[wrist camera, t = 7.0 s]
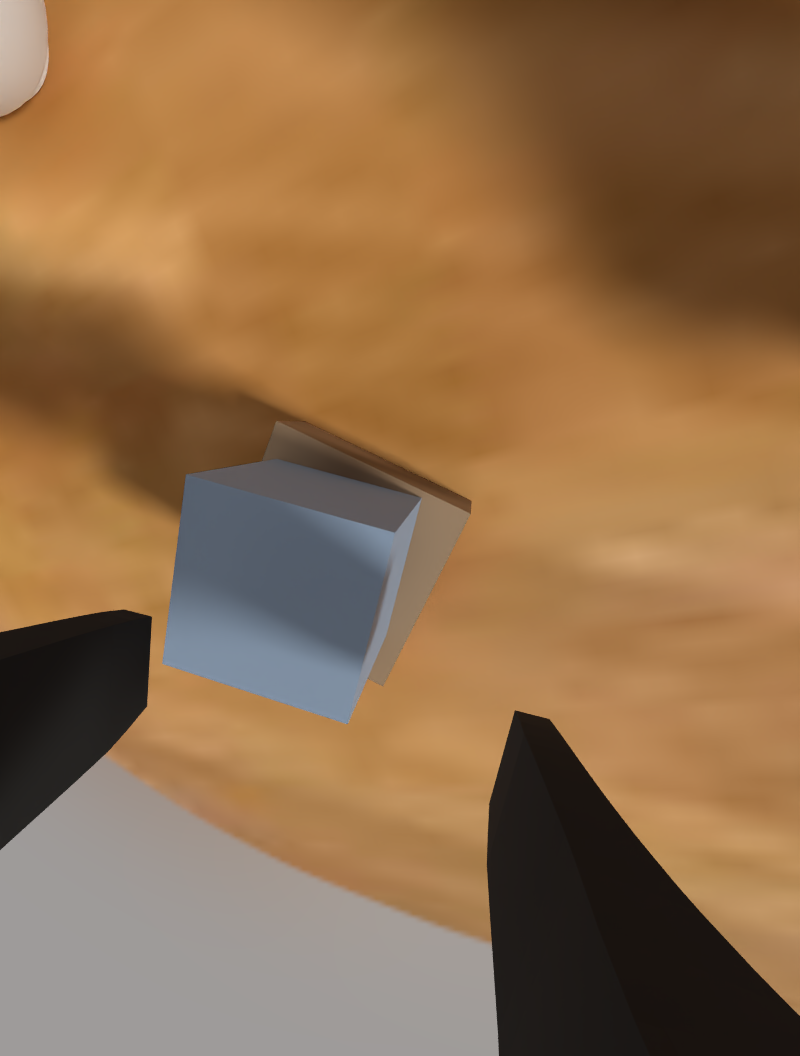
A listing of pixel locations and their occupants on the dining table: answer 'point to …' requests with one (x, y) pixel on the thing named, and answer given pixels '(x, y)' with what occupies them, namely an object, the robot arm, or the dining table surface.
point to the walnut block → (432, 530)
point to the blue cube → (286, 581)
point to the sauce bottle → (22, 51)
